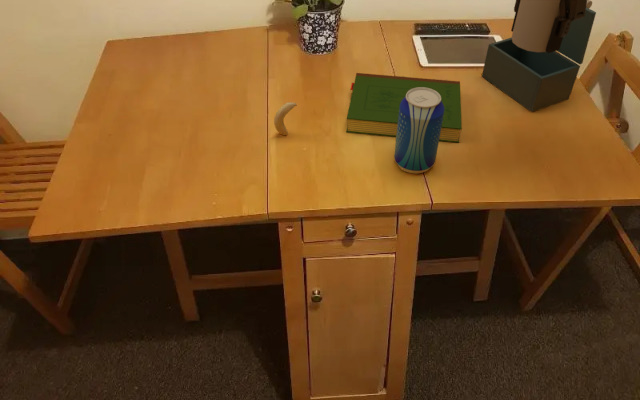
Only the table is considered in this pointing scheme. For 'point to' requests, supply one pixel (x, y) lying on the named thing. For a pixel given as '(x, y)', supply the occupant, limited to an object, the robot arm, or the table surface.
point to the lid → (578, 36)
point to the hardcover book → (398, 104)
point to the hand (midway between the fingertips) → (534, 39)
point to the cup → (535, 24)
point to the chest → (529, 74)
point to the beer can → (418, 130)
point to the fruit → (280, 117)
